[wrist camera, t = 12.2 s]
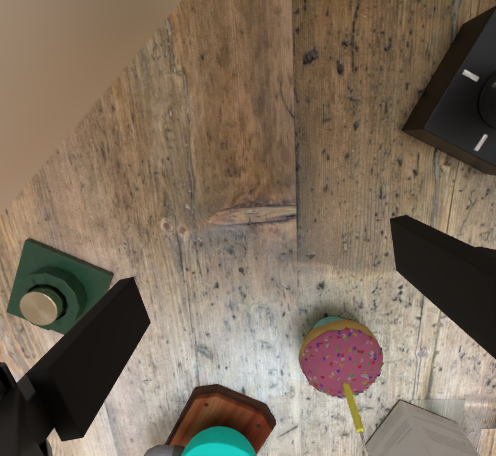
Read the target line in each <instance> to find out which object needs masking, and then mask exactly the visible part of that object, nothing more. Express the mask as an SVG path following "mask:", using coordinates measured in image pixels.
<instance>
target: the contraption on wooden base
mask: <svg viewBox="0 0 496 456" xmlns="http://www.w3.org/2000/svg"><path fill="white" fill-rule="evenodd" d="M275 425H276V420H275V418H274V417H273V415H272V413H271V412H270V410H269V408H268V407H267V405H266V404H264V403H262V402H259V401H257V400H254V399H252V398H249V397H247V396H245V395H242V394H240V393H237V392H235V391H232V390H230V389H228V388H225V387H223V386H220V385H218V384H216V385H209V386H202V387H196V388H195V389H194V391H193V393H192V395H191V397H190V398H189V400H188V402H187V404H186V406H185V408H184V410H183V412H182V413H181V415H180V417H179V419H178V421H177V423H176V425H175V427H174V428H173V430H172V432H171V434H170V436H169V438H168V440H167V442H166V443H165V445H157V446H154V447H152V448H150V449H148V450H147V452H146V453H145V455H144V456H257V455H256V454H257V453H258V451H259V450H260V448H261V447H262V445H263V444H264V442H265V441H266V439H267V438H268V436H269V435H270V433H271V432H272V430H273V428H274V427H275Z"/></svg>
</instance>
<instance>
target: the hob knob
mask: <svg viewBox="0 0 496 456" xmlns="http://www.w3.org/2000/svg"><path fill="white" fill-rule="evenodd" d="M479 111H480V114H481V117H482V118H483V120H484V121H485V122H486V123H487V124H488V125H489V126H491V127H493V128H495V129H496V72H495V73H494V74H493V75H492V76H491V77H490V78H489V79H488V80H487V82H486V83H485V85H484V87H483V89H482V91H481V94H480V98H479Z"/></svg>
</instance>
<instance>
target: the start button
mask: <svg viewBox="0 0 496 456" xmlns="http://www.w3.org/2000/svg"><path fill="white" fill-rule="evenodd" d="M66 306H67V302H66V298H65V296H64V295H63V293H62V292H61V291H60V290H59V289H57V288H56V287H54V286H50V285H40V286H38V287H36V288H34V289H33V290H31V291H30V292H28V293H27V294H25V295H24V296H23V297H22V299H21V301H20V310H21V313H22V314H23V316H24V317H25V318H26V319H27V320H28V321H30V322H31V323H34V324H36V325H48V324H50V323H52V322H53V321H54V320H56V319H57V318H58V317H59V316H60V315H61V314H62V313H63V312H64V311H65V309H66Z"/></svg>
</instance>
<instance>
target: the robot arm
mask: <svg viewBox="0 0 496 456" xmlns="http://www.w3.org/2000/svg"><path fill="white" fill-rule="evenodd" d="M390 224H391V232H392V240H393V248H394V256H395V263H396V271H398V272H399V273H400V274H401V275H402V276H403V277H404V278H405V279H407V280H408V281H409V282H410V283H411V284H412V285H413V286H414V287H415V288H417V289H418V290H419V291H420V292H421V293H422V294H423V295H424V296H426V297H427V298H428V299H429V300H430V301H431V302H432V303H433V304H434V305H436V306H437V307H438V308H439V309H440V310H441V311H442V312H443V313H445V314H446V315H447V316H448V317H449V318H450V319H451V320H452V321H453V322H455V323H456V324H457V325H458V326H459V327H460V328H461V329H462V330H464V331H465V332H466V333H467V334H468V335H469V336H470V337H471V338H472V339H474V340H475V341H476V342H477V343H478V344H479V345H480V346H481V347H482V348H484V349H485V350H486V351H487V352H488V353H489V354H490V355H491V356H493V357H494V358H495V359H496V250H494V249H489V248H484V247H473V246H471V245H469V244H466V243H464V242H462V241H460V240H458V239H456V238H454V237H452V236H449V235H447V234H445V233H443V232H441V231H439V230H437V229H435V228H432V227H430V226H428V225H426V224H424V223H422V222H420V221H418V220H415V219H413V218H411V217H409V216H407V215H404V216H399V217H395V218H391V219H390ZM150 323H151V322H150V319H149V317H148V314H147V311H146V309H145V306H144V303H143V301H142V298H141V296H140V293H139V290H138V288H137V285H136V282H135V280H134V277H130V278H126V279H122V280H119V281H118V282H117V283H116V284H115V285H114V286H113V287H112V288H111V289H110V290H109V291H108V292H107V293H106V294H105V295H104V296H103V297H102V298H101V299H100V300H99V301H98V302H97V303H96V304H95V305H94V306H93V307H92V308H91V309H90V310H89V311H88V312H87V313H86V314H85V315H84V316H83V317H82V318H81V319H80V320H79V321H78V322H77V323H76V324H75V325H74V326H73V327H72V328H71V329H70V330H69V331H68V332H67V333H66V334H65V335H64V336H63V337H62V338H61V339H60V340H59V341H58V342H57V343H56V344H55V345H54V346H53V347H52V348H51V349H50V350H49V351H48V352H47V353H46V354H45V355H44V356H43V357H42V358H41V359H40V360H39V361H38V362H37V363H36V364H35V365H34V366H33V367H32V368H31V369H30V370H29V371H28V372H27V373H26V374H25V375H24V376H23V377H22V378H21V379H20V380H19V381H18V382H17V383H16V381H15V379H14V378H13V376H12V374H11V372H10V370H9V368H8V367H7V365H6V363H2V362H0V456H53V455H52V448H51V446H50V444H49V442H48V440H47V437H48V436H49V434H50V433H51V431H52V430H53V429H54V428H55V430H56V432H57V433H58V435H59V437H60V439H61V441H67V440H73V439H78V438H83V437H84V435H85V434H86V432H87V430H88V428H89V427H90V425H91V423H92V422H93V420H94V418H95V417H96V415H97V413H98V411H99V410H100V408H101V406H102V405H103V403H104V401H105V399H106V398H107V396H108V394H109V393H110V391H111V389H112V388H113V386H114V384H115V382H116V381H117V379H118V377H119V376H120V374H121V372H122V370H123V369H124V367H125V365H126V364H127V362H128V360H129V359H130V357H131V355H132V353H133V352H134V350H135V348H136V347H137V345H138V343H139V341H140V340H141V338H142V336H143V335H144V333H145V331H146V330H147V328H148V326H149V324H150Z"/></svg>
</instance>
